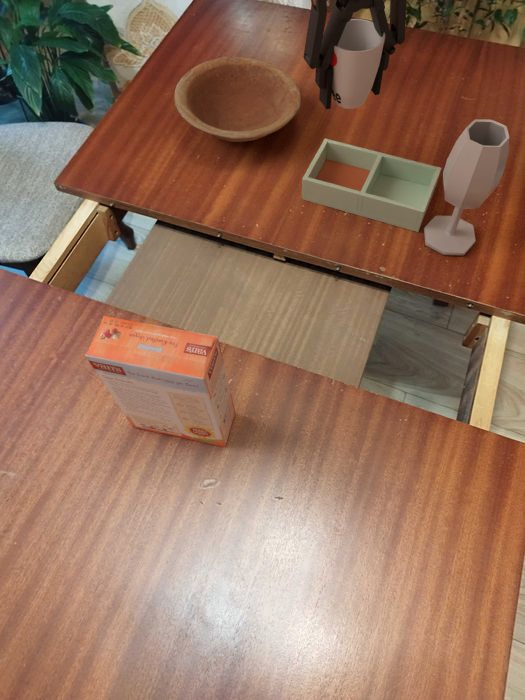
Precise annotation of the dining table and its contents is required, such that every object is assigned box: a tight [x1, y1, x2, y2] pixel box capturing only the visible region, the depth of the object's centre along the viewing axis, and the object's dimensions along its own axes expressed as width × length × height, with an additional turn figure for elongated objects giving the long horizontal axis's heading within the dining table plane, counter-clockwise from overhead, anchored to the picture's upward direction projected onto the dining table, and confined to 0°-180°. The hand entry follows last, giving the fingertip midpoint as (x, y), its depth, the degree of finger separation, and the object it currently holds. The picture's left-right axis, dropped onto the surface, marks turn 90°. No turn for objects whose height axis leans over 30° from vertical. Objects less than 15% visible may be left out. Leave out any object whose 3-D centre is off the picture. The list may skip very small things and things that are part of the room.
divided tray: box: [301, 138, 442, 233], centre depth 95 cm, size 21×11×5 cm, turn 66°
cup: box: [330, 18, 385, 110], centre depth 81 cm, size 8×8×10 cm
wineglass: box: [423, 119, 510, 256], centre depth 83 cm, size 9×9×21 cm
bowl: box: [173, 55, 302, 143], centre depth 105 cm, size 24×24×8 cm
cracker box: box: [85, 315, 236, 448], centre depth 68 cm, size 14×6×21 cm, turn 76°
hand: (349, 96), depth 85 cm, fingers closed on cup, 8 cm apart
